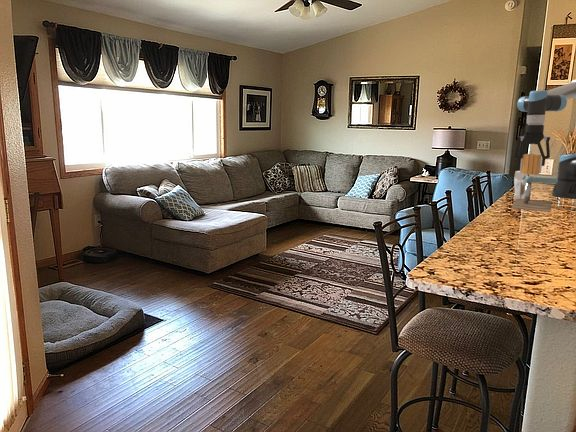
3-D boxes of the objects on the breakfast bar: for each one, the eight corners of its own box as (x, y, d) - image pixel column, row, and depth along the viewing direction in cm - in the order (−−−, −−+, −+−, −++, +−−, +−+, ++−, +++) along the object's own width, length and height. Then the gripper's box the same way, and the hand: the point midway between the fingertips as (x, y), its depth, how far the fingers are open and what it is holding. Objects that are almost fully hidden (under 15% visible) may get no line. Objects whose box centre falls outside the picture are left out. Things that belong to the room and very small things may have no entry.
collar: (522, 172, 225) (523, 153, 223) (539, 172, 221) (541, 154, 219) (520, 173, 219) (522, 155, 217) (538, 174, 215) (540, 155, 213)
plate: (516, 201, 237) (516, 198, 237) (551, 204, 229) (552, 201, 228) (510, 211, 212) (510, 208, 211) (549, 215, 204) (550, 211, 203)
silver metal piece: (524, 199, 233) (526, 181, 231) (529, 200, 232) (531, 182, 230) (522, 203, 224) (524, 184, 222) (528, 203, 223) (530, 185, 221)
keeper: (525, 181, 229) (525, 176, 228) (525, 181, 232) (526, 176, 231) (556, 183, 222) (557, 178, 222) (556, 182, 225) (557, 177, 224)
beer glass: (523, 198, 244) (526, 170, 241) (529, 200, 238) (532, 172, 234) (510, 198, 245) (512, 170, 242) (515, 200, 238) (518, 172, 235)
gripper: (510, 124, 217) (506, 172, 222) (560, 124, 207) (554, 174, 212) (511, 124, 223) (507, 170, 228) (560, 124, 213) (554, 172, 218)
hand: (530, 172), depth 220 cm, fingers closed on collar, 8 cm apart
